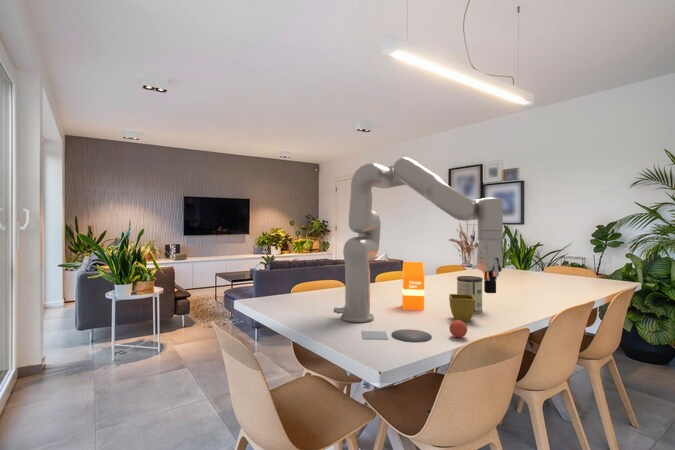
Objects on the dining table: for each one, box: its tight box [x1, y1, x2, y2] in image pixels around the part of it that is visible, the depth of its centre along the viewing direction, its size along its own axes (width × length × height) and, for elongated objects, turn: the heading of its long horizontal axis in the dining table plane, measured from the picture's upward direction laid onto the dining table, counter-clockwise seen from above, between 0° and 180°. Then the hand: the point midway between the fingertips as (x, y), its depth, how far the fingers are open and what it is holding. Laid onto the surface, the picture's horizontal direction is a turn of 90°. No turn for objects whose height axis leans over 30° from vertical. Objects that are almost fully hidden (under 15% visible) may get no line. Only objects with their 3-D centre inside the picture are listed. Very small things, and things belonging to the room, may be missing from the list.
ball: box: [448, 319, 468, 339], centre depth 119 cm, size 6×6×6 cm
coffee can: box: [456, 275, 484, 314], centre depth 156 cm, size 10×10×14 cm
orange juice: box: [401, 261, 425, 311], centre depth 161 cm, size 8×9×20 cm
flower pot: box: [448, 293, 475, 322], centre depth 141 cm, size 9×9×9 cm
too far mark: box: [361, 330, 389, 340], centre depth 121 cm, size 8×8×1 cm
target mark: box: [390, 328, 433, 343], centre depth 121 cm, size 13×13×1 cm
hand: (490, 292), depth 119 cm, fingers closed
